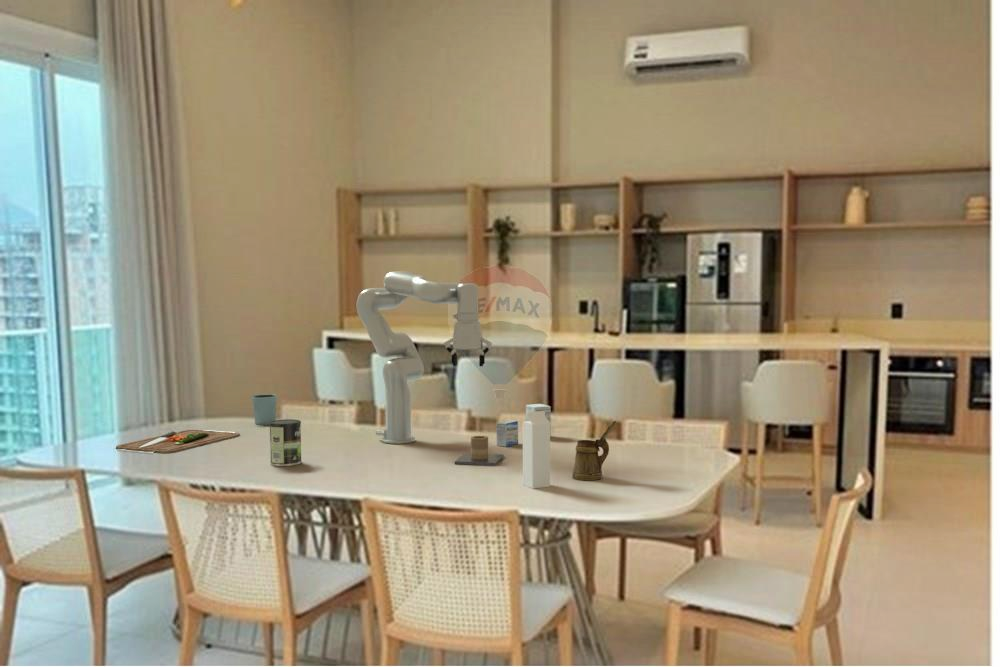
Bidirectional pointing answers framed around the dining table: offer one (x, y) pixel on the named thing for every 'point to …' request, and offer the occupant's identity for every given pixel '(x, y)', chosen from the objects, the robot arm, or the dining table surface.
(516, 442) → the medicine box
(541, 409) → the supplement box
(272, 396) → the blue cup
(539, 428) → the milk
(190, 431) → the chopping board
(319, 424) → the dining table surface
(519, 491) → the dining table surface
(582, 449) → the wooden mug
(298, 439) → the coffee can
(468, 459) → the holder
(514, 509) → the dining table surface
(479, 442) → the cylinder
